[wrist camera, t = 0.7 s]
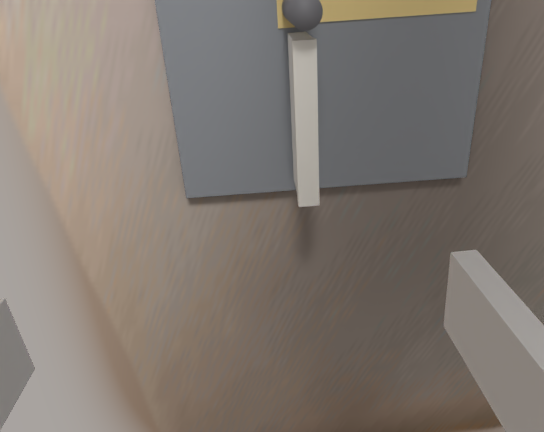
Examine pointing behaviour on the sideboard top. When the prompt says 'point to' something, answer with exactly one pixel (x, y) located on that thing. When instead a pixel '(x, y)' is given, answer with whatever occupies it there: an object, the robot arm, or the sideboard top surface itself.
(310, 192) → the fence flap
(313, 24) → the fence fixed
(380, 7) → the card
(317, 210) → the sideboard top surface
